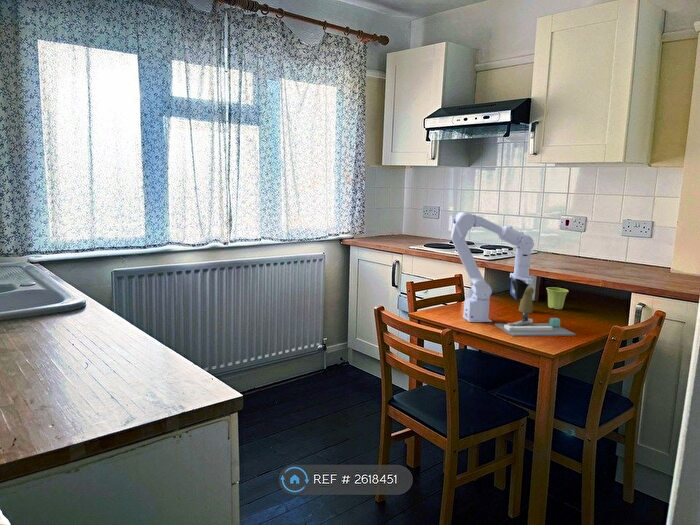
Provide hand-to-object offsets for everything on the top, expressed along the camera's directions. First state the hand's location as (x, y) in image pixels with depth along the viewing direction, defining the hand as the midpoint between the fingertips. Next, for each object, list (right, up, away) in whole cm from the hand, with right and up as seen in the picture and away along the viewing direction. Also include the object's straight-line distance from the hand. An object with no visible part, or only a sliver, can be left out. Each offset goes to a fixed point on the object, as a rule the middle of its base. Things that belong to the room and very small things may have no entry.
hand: (518, 298), depth 210 cm
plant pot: (+26, -6, +29) cm, 40 cm away
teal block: (+12, -11, -6) cm, 17 cm away
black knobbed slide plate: (-1, -10, -6) cm, 11 cm away
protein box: (+18, -3, +50) cm, 53 cm away
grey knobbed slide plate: (+2, -11, -11) cm, 16 cm away
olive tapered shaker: (+9, -7, +20) cm, 23 cm away
